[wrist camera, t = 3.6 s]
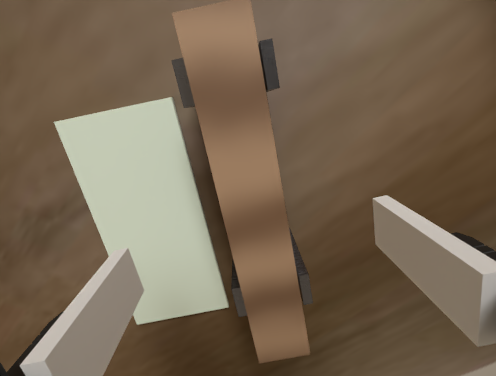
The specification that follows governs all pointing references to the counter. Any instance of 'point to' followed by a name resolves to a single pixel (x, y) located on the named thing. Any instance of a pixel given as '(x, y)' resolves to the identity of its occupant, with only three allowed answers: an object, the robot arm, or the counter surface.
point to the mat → (147, 204)
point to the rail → (245, 169)
